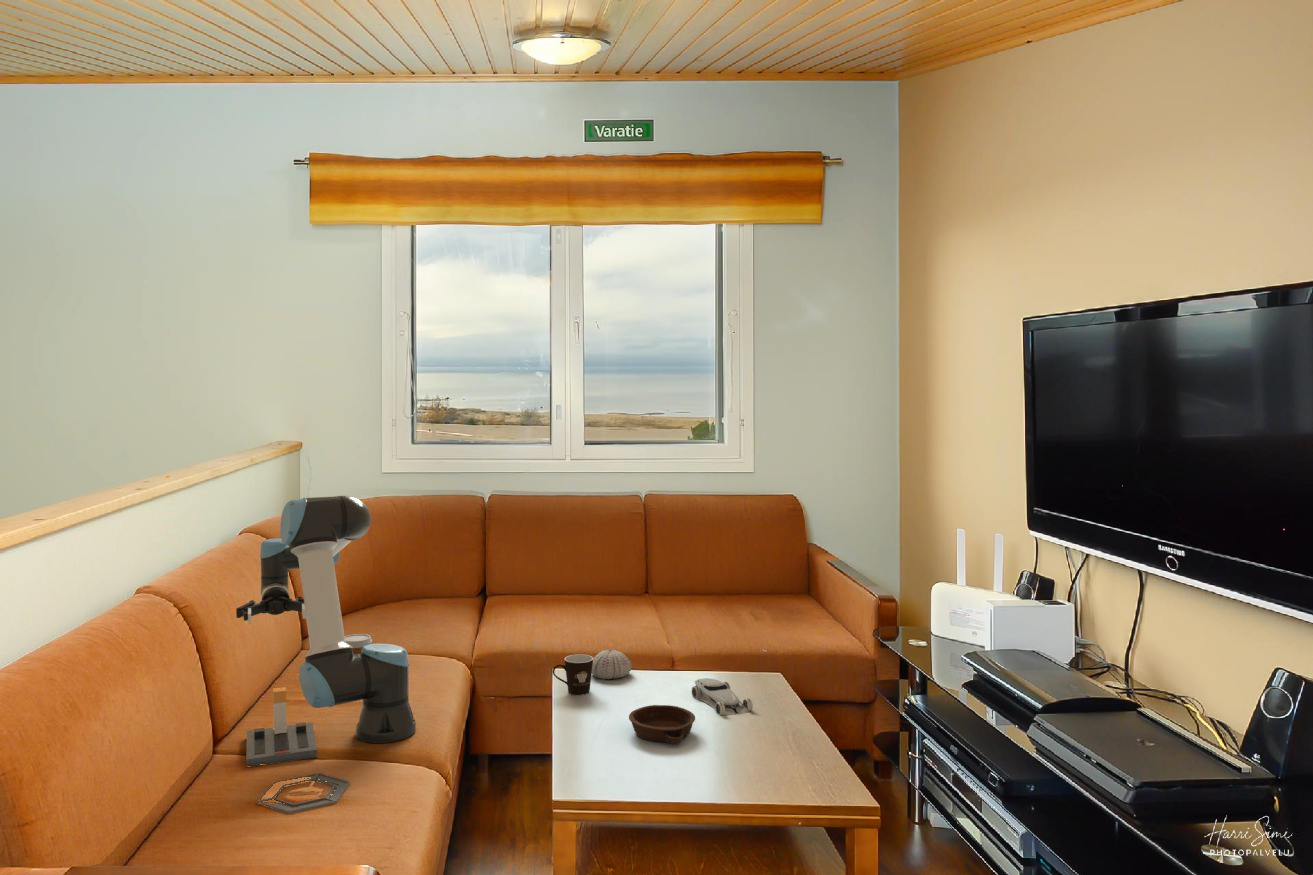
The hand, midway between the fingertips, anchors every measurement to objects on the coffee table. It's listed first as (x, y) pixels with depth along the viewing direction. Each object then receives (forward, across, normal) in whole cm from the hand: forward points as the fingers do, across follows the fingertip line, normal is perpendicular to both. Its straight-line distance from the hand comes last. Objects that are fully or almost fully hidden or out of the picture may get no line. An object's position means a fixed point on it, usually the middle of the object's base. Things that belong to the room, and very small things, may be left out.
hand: (277, 616), depth 253 cm
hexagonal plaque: (+46, -4, -30) cm, 56 cm away
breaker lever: (+10, 0, -28) cm, 30 cm away
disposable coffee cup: (-38, -24, -30) cm, 54 cm away
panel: (+16, 0, -30) cm, 34 cm away
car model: (+26, -118, -31) cm, 125 cm away
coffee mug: (+2, -82, -30) cm, 87 cm away
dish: (+43, -93, -30) cm, 107 cm away
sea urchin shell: (-8, -98, -30) cm, 103 cm away
